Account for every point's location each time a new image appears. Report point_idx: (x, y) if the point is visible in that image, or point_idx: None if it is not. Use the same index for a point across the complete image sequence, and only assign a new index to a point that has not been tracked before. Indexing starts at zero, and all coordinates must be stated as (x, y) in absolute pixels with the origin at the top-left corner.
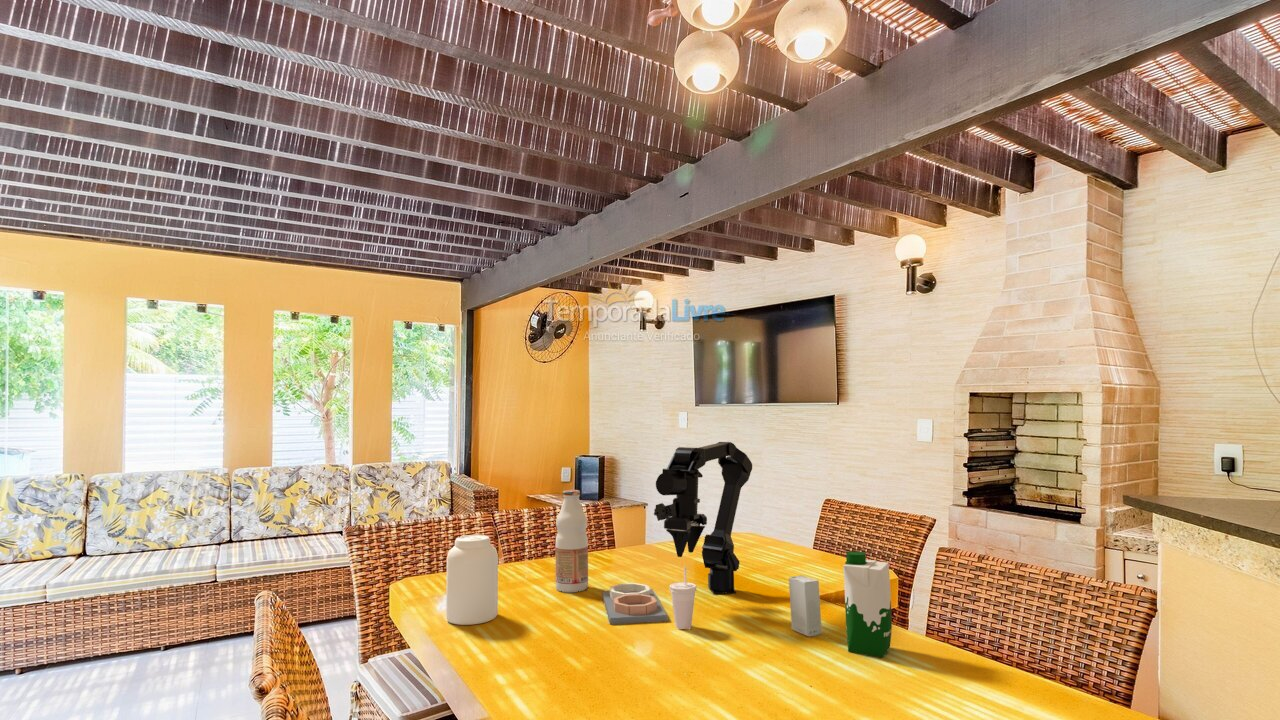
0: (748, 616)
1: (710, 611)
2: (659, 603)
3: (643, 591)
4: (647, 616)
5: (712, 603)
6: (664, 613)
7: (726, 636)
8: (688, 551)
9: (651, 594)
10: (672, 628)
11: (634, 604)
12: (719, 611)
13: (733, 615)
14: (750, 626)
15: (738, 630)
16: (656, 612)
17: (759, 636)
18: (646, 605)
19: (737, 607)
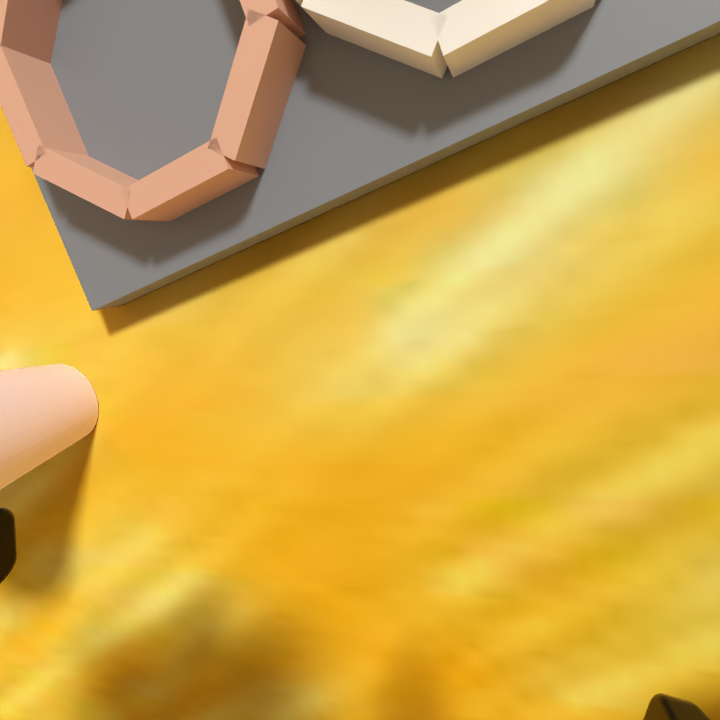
0: (299, 715)
1: (342, 534)
2: (295, 207)
3: (358, 11)
4: (46, 195)
5: (519, 554)
6: (109, 289)
7: (29, 584)
8: (662, 699)
9: (543, 60)
10: (39, 349)
11: (227, 14)
12: (352, 584)
13: (298, 648)
14: (164, 695)
15: (104, 638)
16: (113, 234)
17: (68, 704)
18: (35, 169)
19: (452, 691)
